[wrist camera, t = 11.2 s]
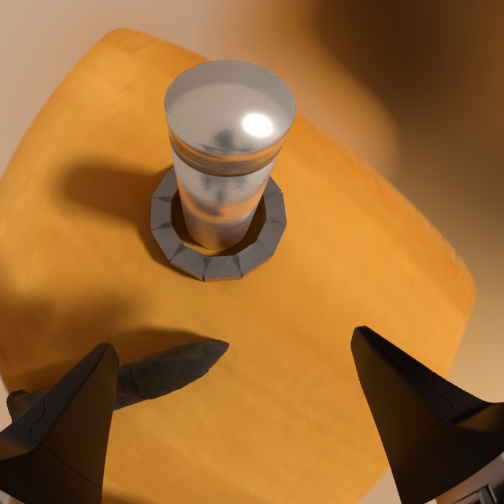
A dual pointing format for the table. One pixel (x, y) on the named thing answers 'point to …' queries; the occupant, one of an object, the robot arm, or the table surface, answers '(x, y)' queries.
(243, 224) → the silver metal cylinder
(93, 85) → the table surface
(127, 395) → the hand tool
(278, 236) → the ring
